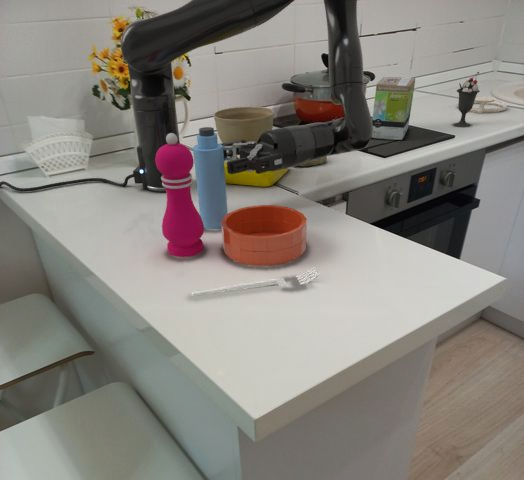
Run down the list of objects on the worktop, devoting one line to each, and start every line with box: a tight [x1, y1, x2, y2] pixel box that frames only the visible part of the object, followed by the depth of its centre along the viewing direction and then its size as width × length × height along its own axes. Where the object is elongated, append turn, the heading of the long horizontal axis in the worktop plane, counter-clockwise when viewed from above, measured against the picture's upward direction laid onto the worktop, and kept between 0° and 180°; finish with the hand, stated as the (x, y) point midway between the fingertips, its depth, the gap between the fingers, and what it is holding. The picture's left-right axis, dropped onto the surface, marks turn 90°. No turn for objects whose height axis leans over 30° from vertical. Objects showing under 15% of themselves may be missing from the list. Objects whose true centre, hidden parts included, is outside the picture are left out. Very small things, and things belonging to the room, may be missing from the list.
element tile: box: [224, 155, 289, 188], centre depth 122 cm, size 15×15×5 cm
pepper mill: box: [155, 133, 205, 258], centre depth 83 cm, size 7×7×20 cm
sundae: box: [453, 71, 481, 128], centre depth 156 cm, size 7×7×15 cm
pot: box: [220, 204, 308, 267], centre depth 87 cm, size 15×15×6 cm
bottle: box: [192, 126, 229, 230], centre depth 93 cm, size 5×5×18 cm
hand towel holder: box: [469, 96, 508, 114], centre depth 178 cm, size 17×4×21 cm
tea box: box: [371, 76, 416, 141], centre depth 150 cm, size 15×10×15 cm
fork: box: [191, 266, 321, 297], centre depth 77 cm, size 3×20×2 cm, turn 103°
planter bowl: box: [213, 106, 275, 153], centre depth 136 cm, size 16×16×11 cm
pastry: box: [298, 156, 328, 167], centre depth 130 cm, size 9×7×4 cm
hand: (216, 162), depth 92 cm, fingers open, 8 cm apart
